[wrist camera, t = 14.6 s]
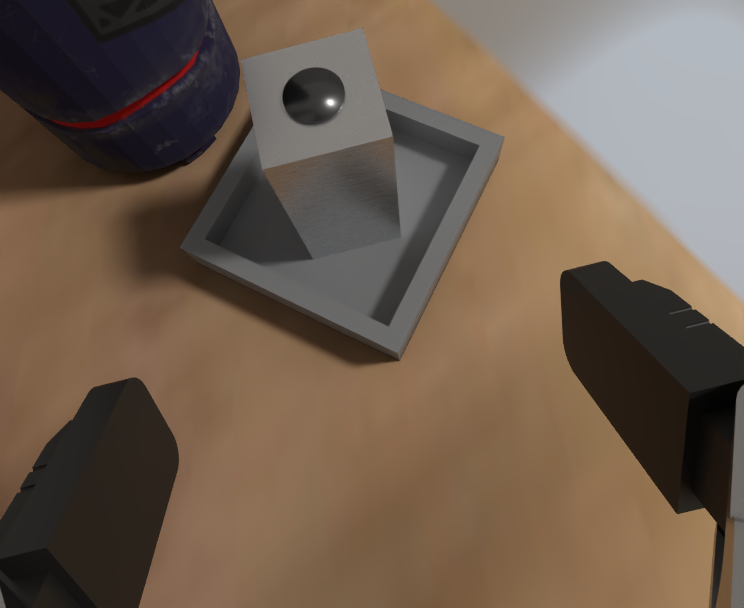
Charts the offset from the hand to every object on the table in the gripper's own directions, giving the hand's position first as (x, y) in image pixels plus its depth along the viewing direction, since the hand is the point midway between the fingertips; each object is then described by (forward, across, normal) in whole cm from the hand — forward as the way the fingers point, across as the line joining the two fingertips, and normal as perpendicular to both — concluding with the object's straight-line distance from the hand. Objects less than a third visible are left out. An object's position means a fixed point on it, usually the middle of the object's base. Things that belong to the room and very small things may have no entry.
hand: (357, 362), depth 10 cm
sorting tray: (+21, 0, +5) cm, 22 cm away
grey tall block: (+20, 0, +4) cm, 21 cm away
